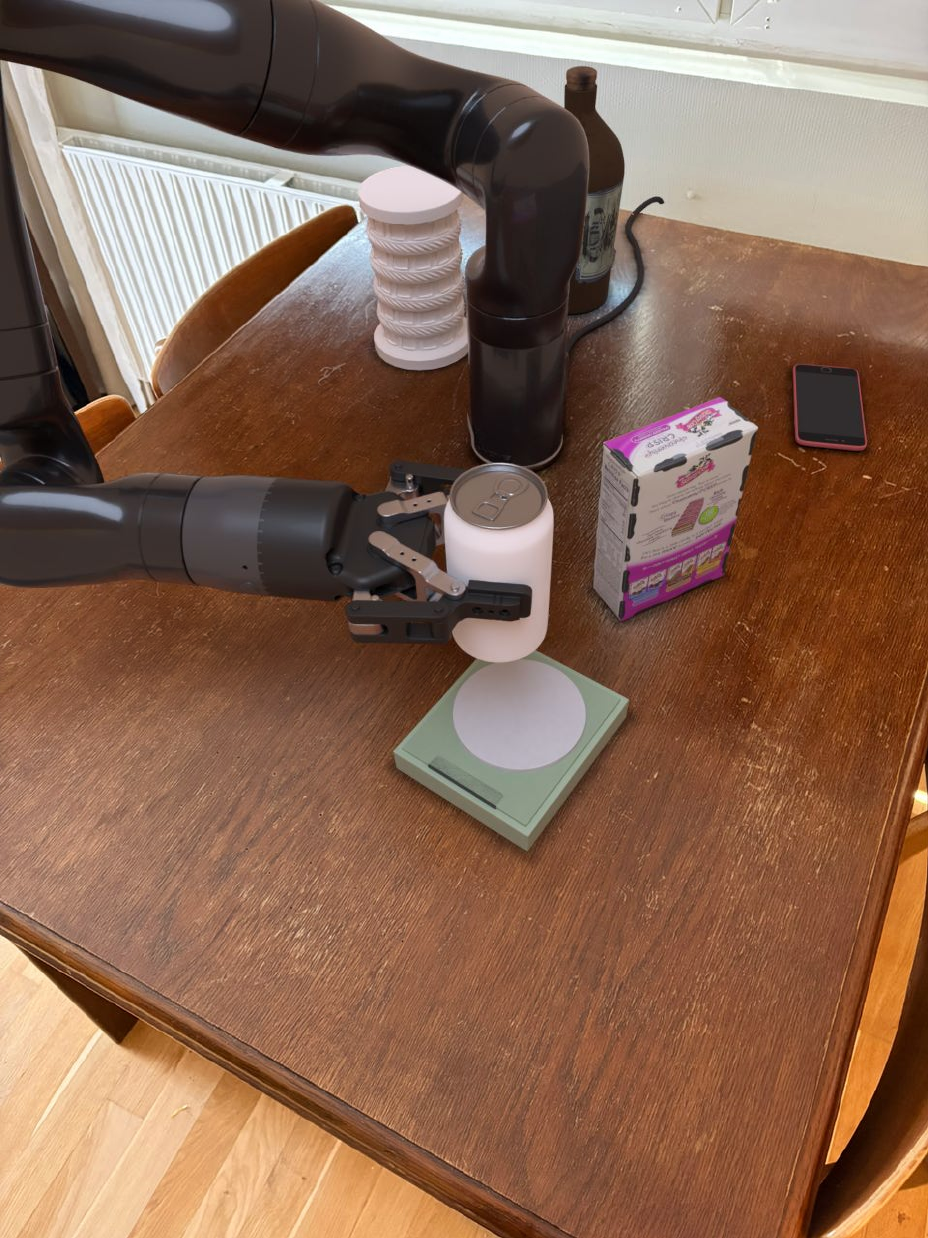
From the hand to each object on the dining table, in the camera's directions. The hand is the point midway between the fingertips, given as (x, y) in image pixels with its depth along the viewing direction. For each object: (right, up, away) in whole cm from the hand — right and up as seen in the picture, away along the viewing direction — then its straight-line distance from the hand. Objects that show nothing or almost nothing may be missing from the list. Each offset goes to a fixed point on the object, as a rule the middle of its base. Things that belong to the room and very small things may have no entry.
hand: (536, 558), depth 55 cm
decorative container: (-9, +29, +51) cm, 60 cm away
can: (-2, -4, +6) cm, 8 cm away
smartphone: (+34, +19, +40) cm, 55 cm away
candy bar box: (+13, -1, +25) cm, 28 cm away
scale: (-1, -13, +15) cm, 20 cm away
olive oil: (+9, +36, +57) cm, 68 cm away
